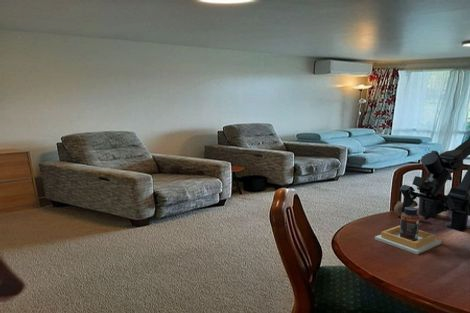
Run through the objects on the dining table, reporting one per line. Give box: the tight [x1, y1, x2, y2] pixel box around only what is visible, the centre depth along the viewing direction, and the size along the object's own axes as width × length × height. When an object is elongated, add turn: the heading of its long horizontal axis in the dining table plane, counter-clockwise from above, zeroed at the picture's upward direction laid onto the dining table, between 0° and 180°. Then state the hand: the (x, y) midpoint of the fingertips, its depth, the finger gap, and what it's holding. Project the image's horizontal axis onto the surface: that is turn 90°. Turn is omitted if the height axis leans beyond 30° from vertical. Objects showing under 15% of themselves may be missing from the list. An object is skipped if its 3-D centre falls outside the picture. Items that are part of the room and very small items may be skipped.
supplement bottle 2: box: [417, 197, 433, 217], centre depth 167 cm, size 7×7×12 cm
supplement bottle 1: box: [399, 207, 420, 241], centre depth 136 cm, size 6×6×11 cm
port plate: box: [374, 224, 442, 255], centre depth 137 cm, size 16×16×3 cm
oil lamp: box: [393, 200, 419, 218], centre depth 163 cm, size 9×4×8 cm, turn 60°
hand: (413, 215), depth 137 cm, fingers open, 9 cm apart
